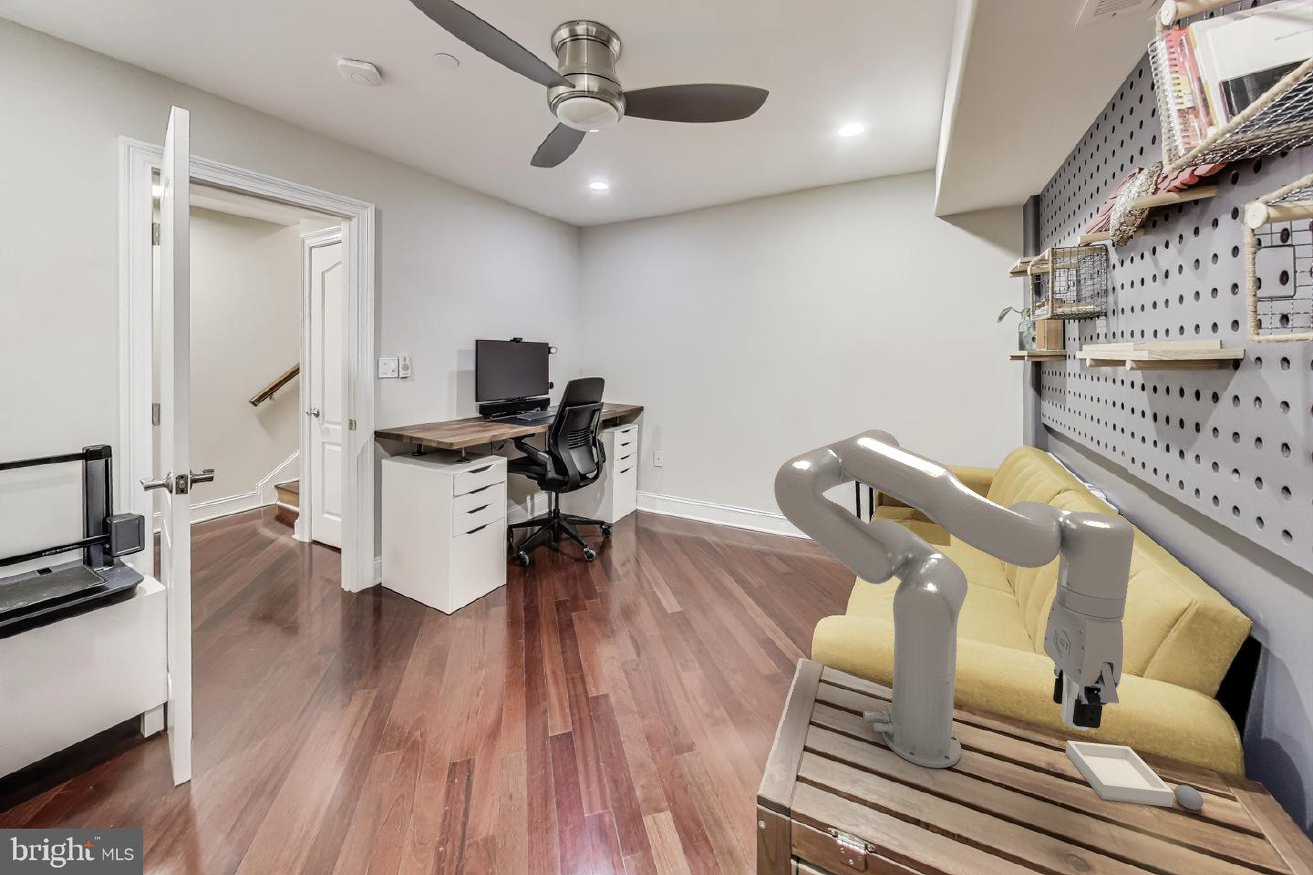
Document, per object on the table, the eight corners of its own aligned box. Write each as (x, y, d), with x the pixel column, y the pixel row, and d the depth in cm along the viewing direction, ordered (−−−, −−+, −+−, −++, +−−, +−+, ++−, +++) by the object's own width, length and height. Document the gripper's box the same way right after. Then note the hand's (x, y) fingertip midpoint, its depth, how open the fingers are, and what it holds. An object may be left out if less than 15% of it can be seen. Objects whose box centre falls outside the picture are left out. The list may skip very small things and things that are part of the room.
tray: (1102, 799, 77) (1103, 784, 77) (1065, 753, 86) (1066, 740, 86) (1172, 807, 76) (1174, 792, 75) (1127, 759, 85) (1129, 746, 84)
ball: (1184, 813, 75) (1186, 795, 74) (1167, 796, 78) (1170, 778, 77) (1208, 815, 74) (1210, 797, 74) (1190, 798, 77) (1193, 781, 77)
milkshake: (1052, 725, 75) (1061, 667, 73) (1058, 706, 79) (1067, 650, 76) (1091, 742, 72) (1103, 682, 70) (1096, 721, 75) (1107, 663, 73)
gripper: (1028, 573, 81) (1018, 677, 84) (1098, 627, 65) (1082, 754, 68) (1081, 576, 80) (1069, 681, 82) (1166, 632, 63) (1147, 761, 66)
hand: (1075, 713), depth 75 cm, fingers closed on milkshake, 4 cm apart
